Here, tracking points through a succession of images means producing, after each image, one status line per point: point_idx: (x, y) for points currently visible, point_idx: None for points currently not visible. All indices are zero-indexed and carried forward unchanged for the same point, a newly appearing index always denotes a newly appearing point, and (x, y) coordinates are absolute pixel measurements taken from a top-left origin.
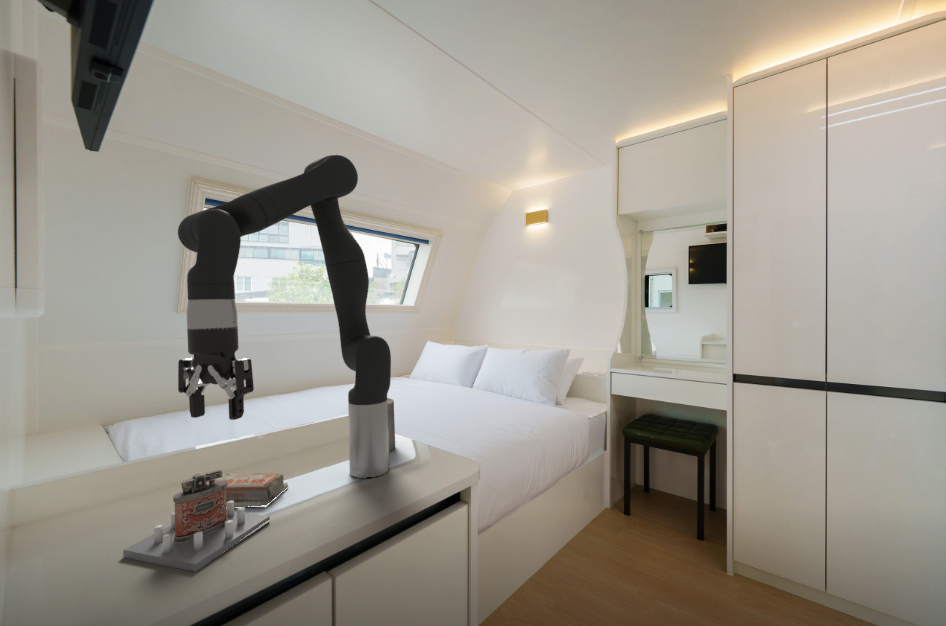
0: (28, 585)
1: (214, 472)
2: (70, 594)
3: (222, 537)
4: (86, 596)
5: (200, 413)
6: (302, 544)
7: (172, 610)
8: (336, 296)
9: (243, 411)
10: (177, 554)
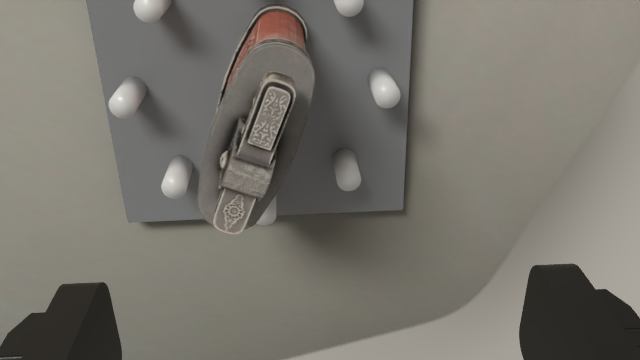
0: None
1: (281, 124)
2: (191, 326)
3: (362, 91)
4: (234, 320)
5: (103, 326)
6: (622, 7)
7: (464, 295)
8: None
9: (632, 315)
10: (309, 194)
